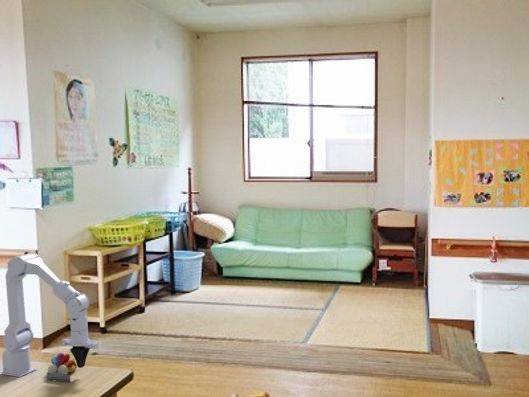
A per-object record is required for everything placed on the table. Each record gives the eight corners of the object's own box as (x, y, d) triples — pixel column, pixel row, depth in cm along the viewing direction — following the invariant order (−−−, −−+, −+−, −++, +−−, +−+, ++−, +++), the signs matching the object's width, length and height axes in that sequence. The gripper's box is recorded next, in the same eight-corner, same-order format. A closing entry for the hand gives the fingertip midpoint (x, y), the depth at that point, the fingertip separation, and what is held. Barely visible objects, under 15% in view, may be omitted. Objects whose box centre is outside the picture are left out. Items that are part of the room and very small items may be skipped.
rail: (47, 379, 202) (46, 372, 202) (48, 378, 202) (48, 371, 202) (68, 383, 198) (68, 376, 197) (70, 382, 198) (70, 375, 198)
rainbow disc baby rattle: (67, 378, 203) (66, 358, 202) (44, 376, 205) (43, 356, 205) (81, 369, 211) (80, 350, 211) (58, 368, 214) (57, 348, 213)
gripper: (103, 327, 203) (104, 365, 204) (71, 324, 209) (73, 360, 210) (89, 333, 197) (91, 372, 197) (57, 329, 203) (59, 367, 204)
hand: (81, 366), depth 203 cm, fingers closed
